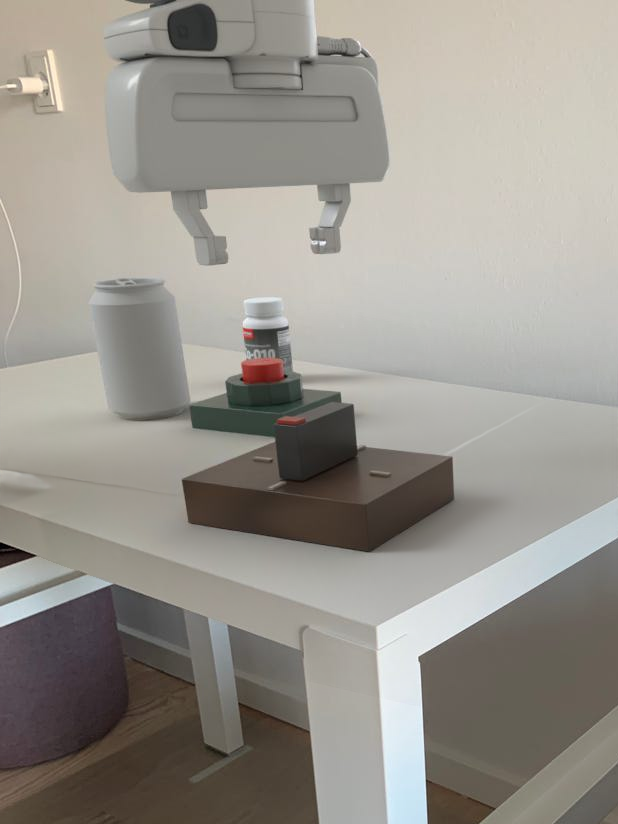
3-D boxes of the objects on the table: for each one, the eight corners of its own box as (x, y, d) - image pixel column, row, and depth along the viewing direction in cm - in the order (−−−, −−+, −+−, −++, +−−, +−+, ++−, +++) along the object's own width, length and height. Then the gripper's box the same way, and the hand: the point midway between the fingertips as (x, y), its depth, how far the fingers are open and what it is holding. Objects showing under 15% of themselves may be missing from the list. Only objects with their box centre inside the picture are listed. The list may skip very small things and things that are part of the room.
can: (130, 427, 90) (104, 286, 85) (97, 413, 95) (71, 280, 90) (206, 412, 94) (186, 278, 89) (170, 400, 100) (150, 272, 94)
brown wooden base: (188, 522, 66) (180, 476, 64) (288, 477, 75) (283, 435, 73) (369, 552, 60) (365, 501, 59) (454, 499, 69) (452, 453, 67)
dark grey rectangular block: (335, 452, 69) (330, 398, 67) (358, 455, 68) (353, 400, 67) (279, 478, 64) (272, 420, 62) (302, 481, 63) (296, 422, 61)
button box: (192, 429, 89) (185, 383, 87) (255, 407, 96) (250, 364, 94) (284, 439, 85) (278, 391, 83) (343, 415, 92) (339, 371, 90)
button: (235, 384, 88) (232, 363, 87) (260, 376, 91) (258, 356, 90) (268, 386, 86) (265, 366, 86) (292, 378, 89) (290, 358, 89)
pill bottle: (240, 385, 106) (229, 302, 102) (264, 376, 110) (254, 296, 106) (279, 387, 104) (270, 303, 100) (302, 378, 108) (294, 297, 104)
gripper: (347, 43, 73) (361, 246, 79) (76, 26, 61) (117, 268, 67) (402, 35, 69) (412, 249, 75) (124, 15, 57) (163, 274, 63)
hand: (272, 258), depth 71 cm, fingers open, 8 cm apart
